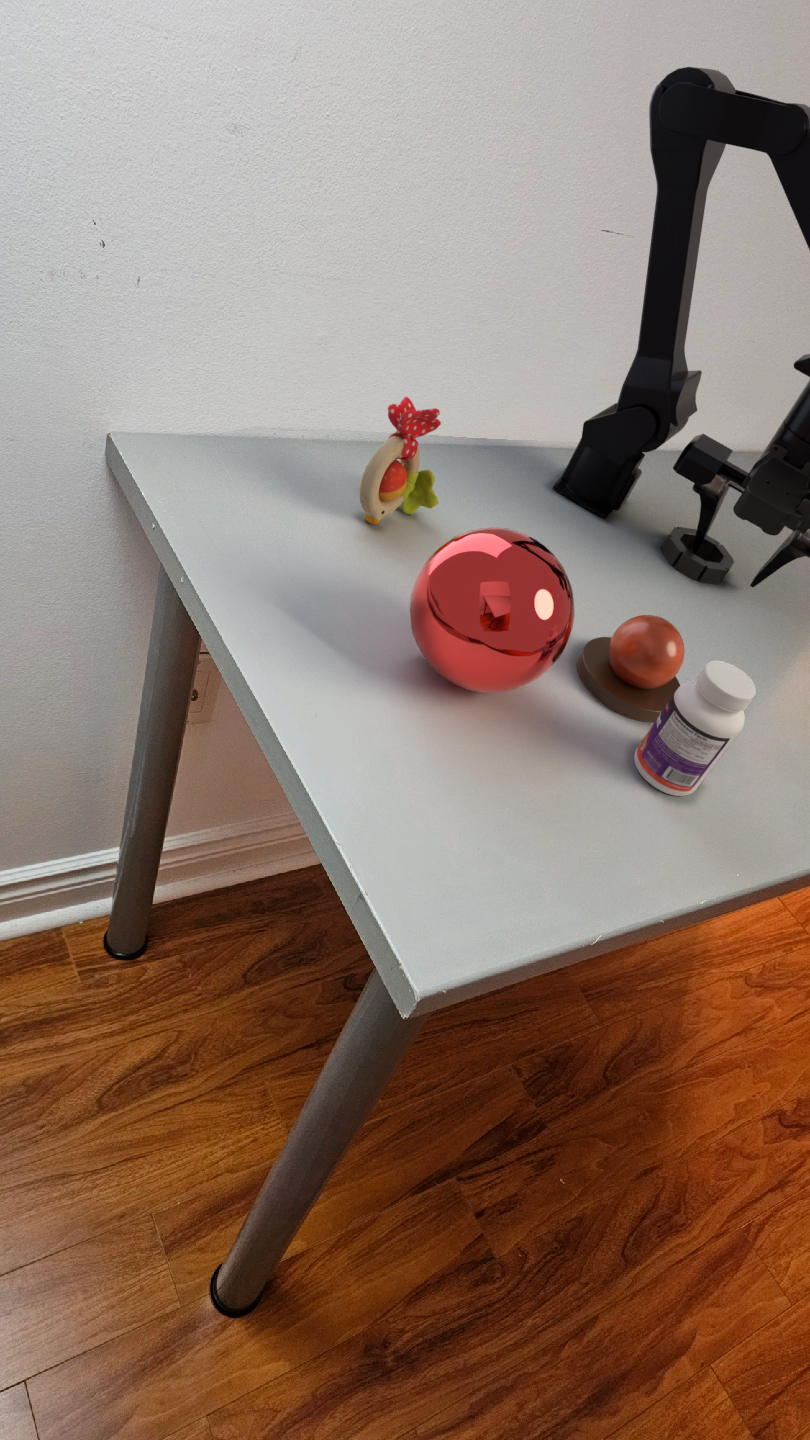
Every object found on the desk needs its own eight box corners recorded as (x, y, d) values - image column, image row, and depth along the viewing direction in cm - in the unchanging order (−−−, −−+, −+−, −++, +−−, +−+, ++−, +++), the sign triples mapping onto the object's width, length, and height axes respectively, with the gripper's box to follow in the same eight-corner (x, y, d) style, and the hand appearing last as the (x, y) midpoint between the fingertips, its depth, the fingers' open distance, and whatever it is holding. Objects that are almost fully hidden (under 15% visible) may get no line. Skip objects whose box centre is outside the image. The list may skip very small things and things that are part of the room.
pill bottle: (656, 738, 84) (721, 646, 77) (708, 784, 81) (778, 694, 75) (618, 758, 80) (683, 663, 74) (671, 807, 78) (742, 713, 72)
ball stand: (561, 678, 85) (598, 616, 81) (596, 633, 92) (631, 574, 88) (658, 738, 84) (700, 679, 79) (686, 688, 90) (726, 630, 86)
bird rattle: (392, 559, 93) (449, 498, 97) (406, 474, 83) (469, 410, 87) (335, 523, 94) (394, 463, 98) (342, 435, 84) (407, 373, 88)
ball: (364, 618, 82) (418, 487, 74) (492, 620, 88) (553, 500, 80) (424, 729, 74) (489, 597, 67) (558, 723, 80) (633, 602, 73)
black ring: (654, 556, 106) (663, 542, 105) (672, 533, 112) (680, 519, 110) (715, 592, 105) (724, 578, 104) (730, 567, 111) (739, 553, 109)
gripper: (702, 406, 93) (620, 549, 103) (894, 513, 90) (791, 650, 100) (729, 378, 101) (651, 512, 111) (905, 475, 98) (809, 604, 108)
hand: (723, 568), depth 107 cm, fingers open, 6 cm apart
